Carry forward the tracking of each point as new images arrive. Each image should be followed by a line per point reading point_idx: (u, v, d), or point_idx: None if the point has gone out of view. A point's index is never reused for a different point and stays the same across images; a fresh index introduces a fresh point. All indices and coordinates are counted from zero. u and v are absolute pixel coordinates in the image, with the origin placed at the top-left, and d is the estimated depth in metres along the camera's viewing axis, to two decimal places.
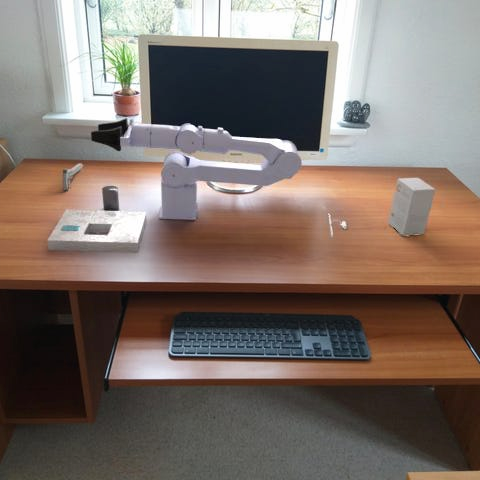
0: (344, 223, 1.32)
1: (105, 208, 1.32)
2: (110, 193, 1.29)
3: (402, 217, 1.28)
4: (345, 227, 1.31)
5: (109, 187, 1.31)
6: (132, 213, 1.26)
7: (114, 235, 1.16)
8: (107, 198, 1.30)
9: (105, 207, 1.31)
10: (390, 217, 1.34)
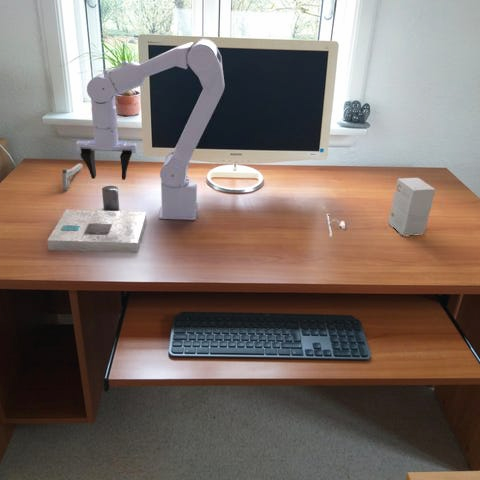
0: (343, 223, 1.32)
1: (105, 208, 1.32)
2: (110, 193, 1.29)
3: (402, 217, 1.28)
4: (344, 227, 1.31)
5: (109, 187, 1.31)
6: (132, 213, 1.26)
7: (114, 235, 1.16)
8: (107, 198, 1.30)
9: (105, 207, 1.31)
10: (390, 217, 1.34)
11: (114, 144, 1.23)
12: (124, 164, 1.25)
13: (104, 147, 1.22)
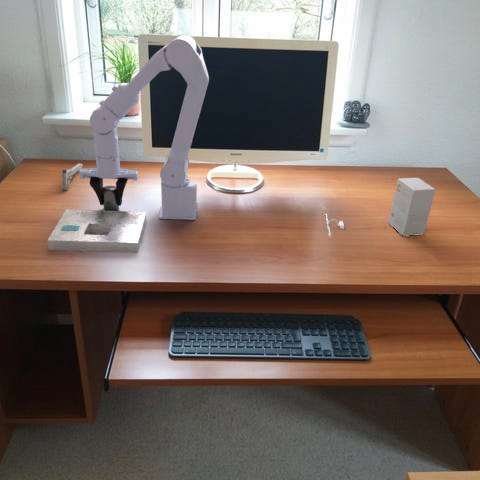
0: (341, 223, 1.32)
1: (105, 208, 1.32)
2: (110, 193, 1.29)
3: (402, 217, 1.28)
4: (342, 227, 1.31)
5: (109, 187, 1.31)
6: (132, 213, 1.26)
7: (114, 235, 1.16)
8: (107, 198, 1.30)
9: (105, 207, 1.31)
10: (390, 217, 1.34)
11: (116, 172, 1.27)
12: (120, 191, 1.29)
13: (106, 175, 1.26)
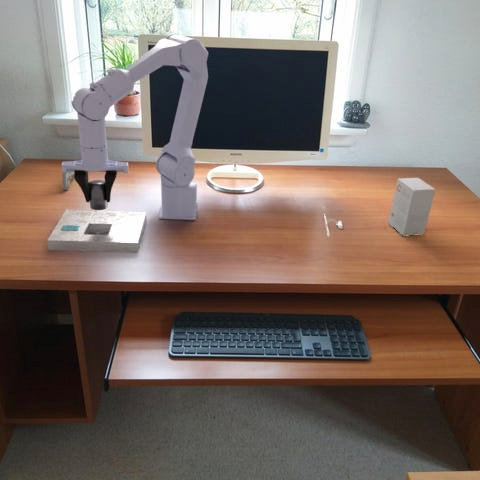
0: (340, 223, 1.32)
1: (92, 205, 1.17)
2: (98, 187, 1.15)
3: (402, 217, 1.28)
4: (341, 227, 1.31)
5: (96, 181, 1.17)
6: (132, 213, 1.26)
7: (114, 235, 1.16)
8: (95, 193, 1.15)
9: (92, 204, 1.17)
10: (390, 217, 1.34)
11: (104, 164, 1.12)
12: (109, 185, 1.15)
13: (94, 168, 1.11)
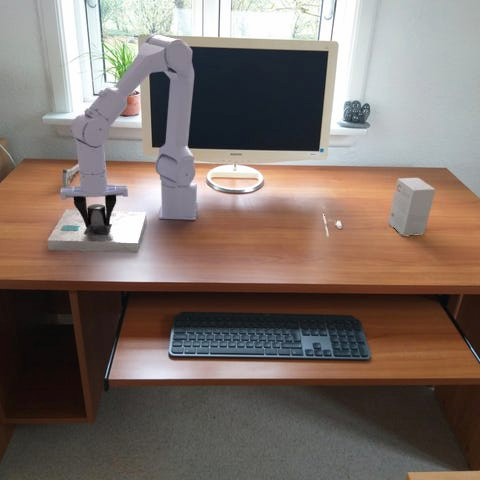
0: (339, 223, 1.32)
1: (92, 230, 1.17)
2: (98, 212, 1.15)
3: (402, 217, 1.28)
4: (340, 227, 1.31)
5: (95, 206, 1.17)
6: (132, 213, 1.26)
7: (114, 235, 1.16)
8: (95, 218, 1.15)
9: (92, 229, 1.16)
10: (390, 217, 1.34)
11: (104, 189, 1.12)
12: (109, 210, 1.15)
13: (94, 194, 1.11)
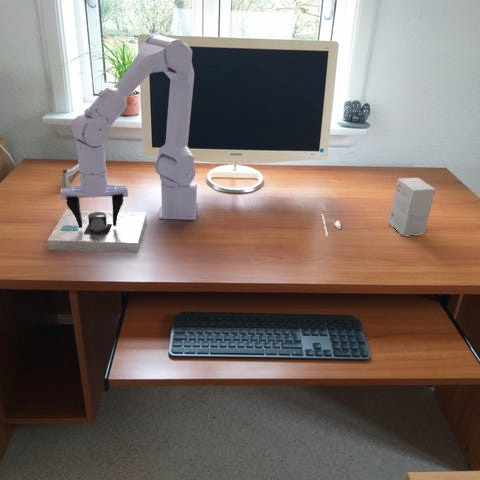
0: (338, 223, 1.32)
1: None
2: (99, 221, 1.15)
3: (402, 217, 1.28)
4: (339, 227, 1.31)
5: (96, 214, 1.17)
6: (132, 213, 1.26)
7: (114, 235, 1.16)
8: (96, 226, 1.16)
9: None
10: (390, 217, 1.34)
11: (104, 189, 1.12)
12: (116, 210, 1.15)
13: (94, 194, 1.11)
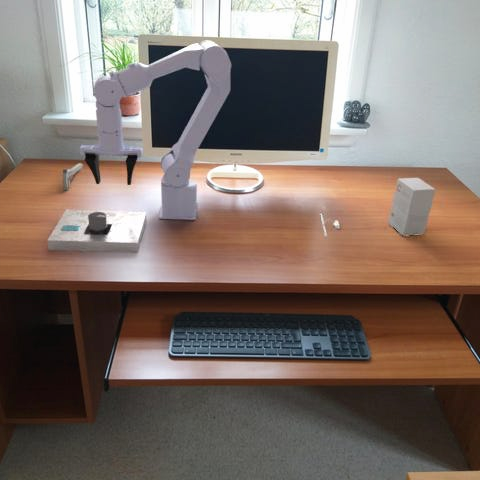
0: (337, 222, 1.32)
1: None
2: (99, 221, 1.15)
3: (402, 217, 1.28)
4: (338, 226, 1.31)
5: (95, 214, 1.17)
6: (132, 213, 1.26)
7: (114, 235, 1.16)
8: (96, 226, 1.16)
9: None
10: (390, 217, 1.34)
11: (119, 148, 1.19)
12: (130, 169, 1.22)
13: (109, 152, 1.18)
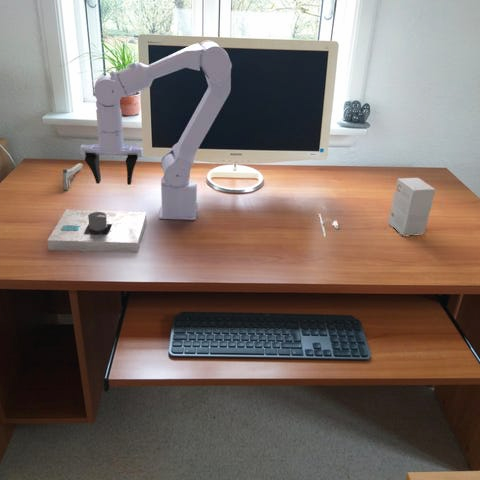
0: (335, 222, 1.32)
1: None
2: (99, 221, 1.15)
3: (402, 217, 1.28)
4: (337, 226, 1.31)
5: (95, 214, 1.17)
6: (132, 213, 1.26)
7: (114, 235, 1.16)
8: (96, 226, 1.16)
9: None
10: (390, 217, 1.34)
11: (119, 148, 1.20)
12: (130, 169, 1.22)
13: (109, 151, 1.19)
